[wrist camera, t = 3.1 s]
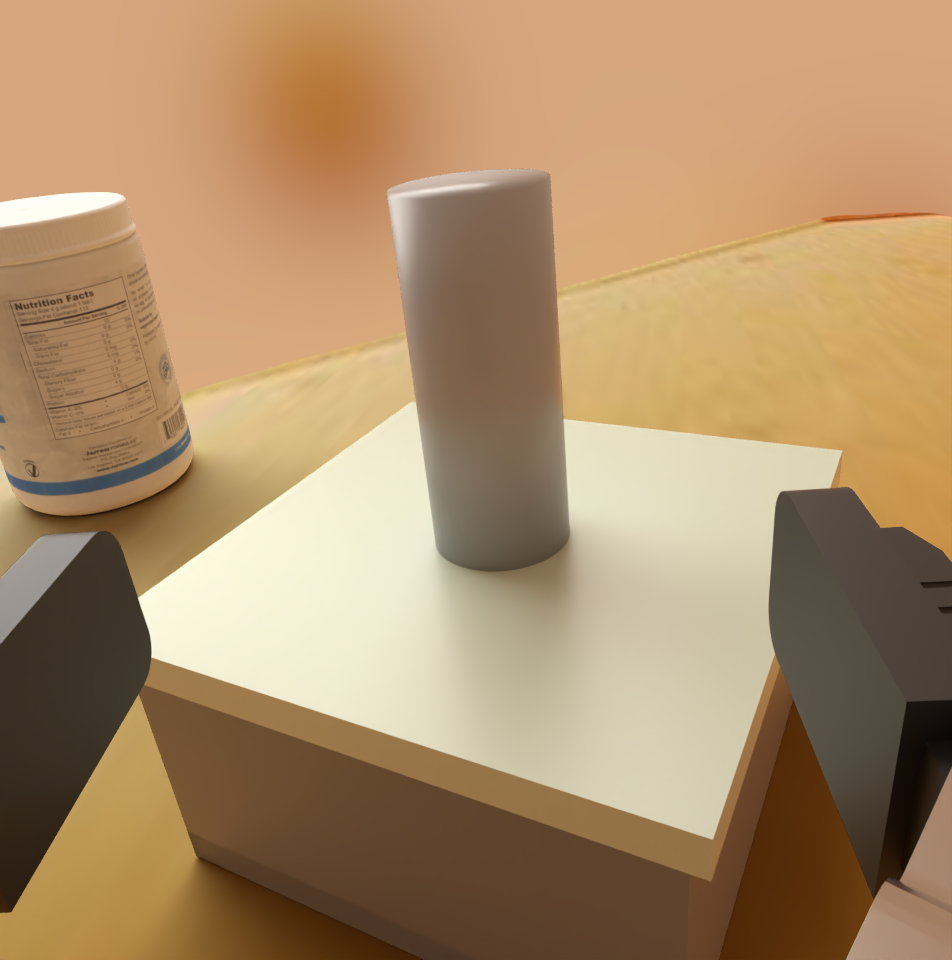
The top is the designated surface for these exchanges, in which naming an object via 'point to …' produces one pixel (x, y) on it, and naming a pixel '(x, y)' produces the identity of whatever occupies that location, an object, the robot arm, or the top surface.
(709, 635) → the lid
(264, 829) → the parts box
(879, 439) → the top surface
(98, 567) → the robot arm
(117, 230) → the supplement tub
